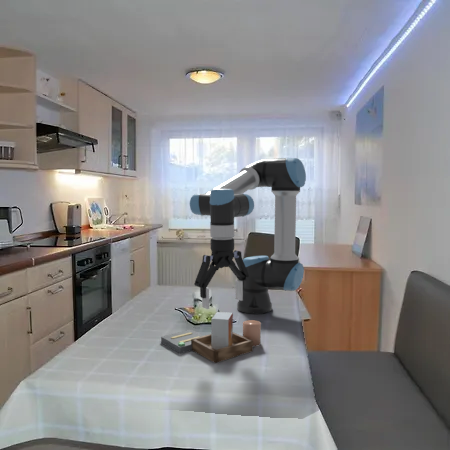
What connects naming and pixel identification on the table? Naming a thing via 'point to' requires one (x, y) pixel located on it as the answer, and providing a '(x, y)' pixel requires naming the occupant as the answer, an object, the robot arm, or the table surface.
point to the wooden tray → (237, 348)
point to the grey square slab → (180, 340)
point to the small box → (221, 330)
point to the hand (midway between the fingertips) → (223, 303)
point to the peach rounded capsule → (252, 331)
